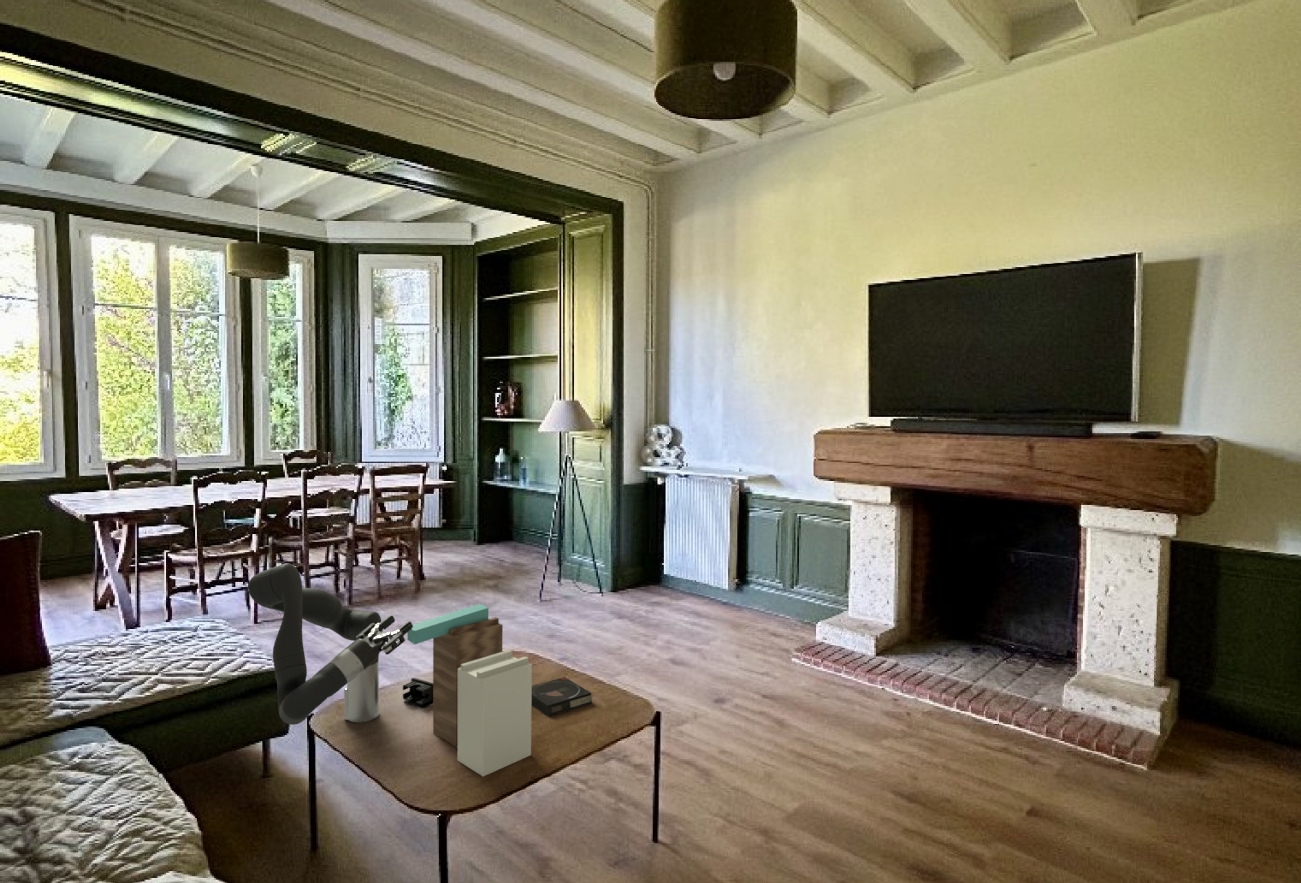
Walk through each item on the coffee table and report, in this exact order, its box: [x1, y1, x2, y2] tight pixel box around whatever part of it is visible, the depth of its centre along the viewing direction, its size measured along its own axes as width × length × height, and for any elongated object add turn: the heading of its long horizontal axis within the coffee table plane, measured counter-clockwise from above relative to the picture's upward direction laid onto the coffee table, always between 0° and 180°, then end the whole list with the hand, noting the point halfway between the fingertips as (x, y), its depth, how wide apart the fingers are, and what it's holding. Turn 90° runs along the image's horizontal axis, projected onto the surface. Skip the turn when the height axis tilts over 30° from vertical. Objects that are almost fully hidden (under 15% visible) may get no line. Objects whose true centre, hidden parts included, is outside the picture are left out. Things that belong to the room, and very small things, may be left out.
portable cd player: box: [531, 676, 593, 717], centre depth 239 cm, size 16×17×4 cm
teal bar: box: [406, 603, 489, 645], centre depth 210 cm, size 24×4×4 cm, turn 136°
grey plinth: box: [456, 649, 533, 777], centre depth 200 cm, size 16×12×28 cm
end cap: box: [402, 677, 433, 710], centre depth 236 cm, size 10×7×7 cm
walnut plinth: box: [432, 616, 504, 748], centre depth 216 cm, size 16×12×34 cm
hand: (402, 620), depth 199 cm, fingers open, 8 cm apart
